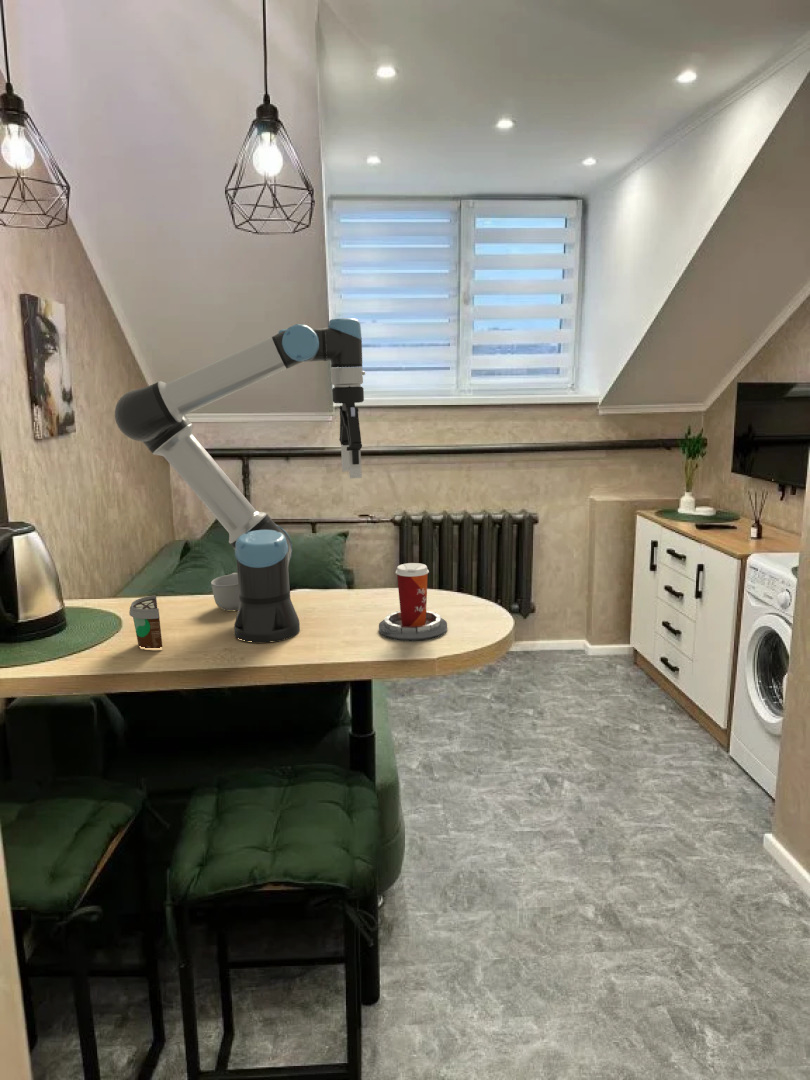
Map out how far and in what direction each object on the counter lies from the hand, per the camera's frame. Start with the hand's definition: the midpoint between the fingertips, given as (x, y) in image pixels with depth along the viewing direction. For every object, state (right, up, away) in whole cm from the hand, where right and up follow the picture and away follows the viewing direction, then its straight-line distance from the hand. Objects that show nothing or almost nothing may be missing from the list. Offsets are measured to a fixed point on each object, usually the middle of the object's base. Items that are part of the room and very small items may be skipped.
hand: (351, 474), depth 184 cm
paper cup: (+15, -36, -8) cm, 40 cm away
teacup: (-31, -34, +14) cm, 48 cm away
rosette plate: (+15, -37, -8) cm, 41 cm away
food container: (-45, -40, -14) cm, 62 cm away
